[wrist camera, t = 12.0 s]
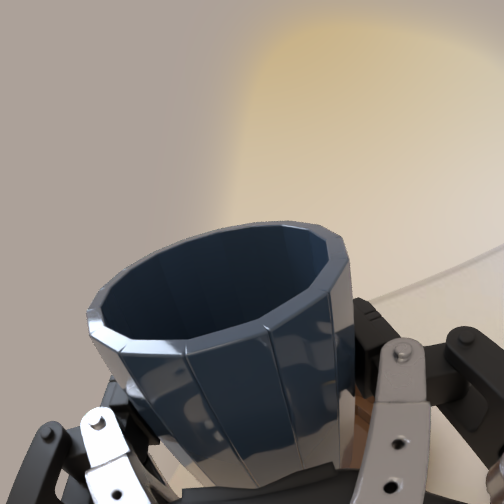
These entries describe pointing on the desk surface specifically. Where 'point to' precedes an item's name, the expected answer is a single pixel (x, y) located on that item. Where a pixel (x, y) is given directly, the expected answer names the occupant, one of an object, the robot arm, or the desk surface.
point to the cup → (238, 349)
